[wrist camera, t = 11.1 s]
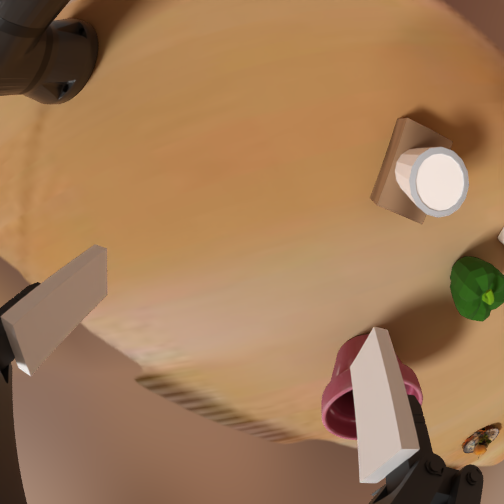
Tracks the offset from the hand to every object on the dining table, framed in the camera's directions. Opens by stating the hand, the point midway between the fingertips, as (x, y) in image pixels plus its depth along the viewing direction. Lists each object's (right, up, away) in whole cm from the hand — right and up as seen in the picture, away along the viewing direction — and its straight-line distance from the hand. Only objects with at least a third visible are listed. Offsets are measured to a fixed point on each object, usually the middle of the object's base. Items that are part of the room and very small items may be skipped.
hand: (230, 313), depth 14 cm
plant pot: (+19, -14, +32) cm, 40 cm away
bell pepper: (+33, 0, +24) cm, 41 cm away
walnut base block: (+20, +13, +20) cm, 32 cm away
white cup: (+20, +12, +17) cm, 29 cm away
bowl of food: (+63, -48, +38) cm, 88 cm away
